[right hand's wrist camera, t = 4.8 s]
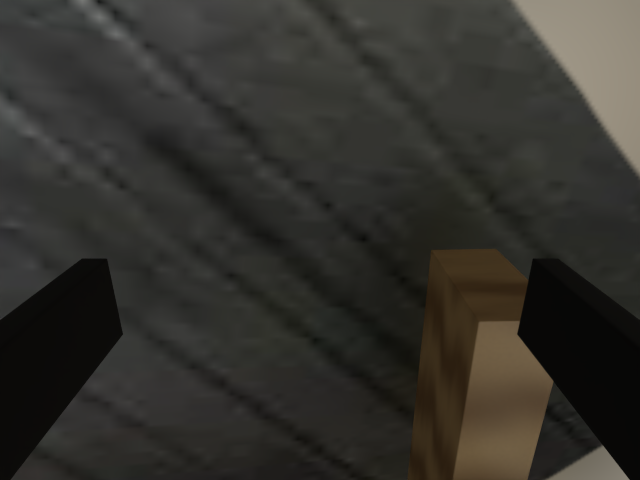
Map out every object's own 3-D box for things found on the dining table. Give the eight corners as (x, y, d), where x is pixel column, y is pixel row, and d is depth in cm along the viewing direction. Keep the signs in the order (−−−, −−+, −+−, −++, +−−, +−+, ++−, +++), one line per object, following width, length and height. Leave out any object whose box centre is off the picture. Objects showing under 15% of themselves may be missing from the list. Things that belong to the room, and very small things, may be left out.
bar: (431, 249, 30) (478, 321, 21) (496, 248, 30) (570, 320, 21) (407, 479, 39) (433, 594, 30) (457, 478, 39) (497, 592, 30)
